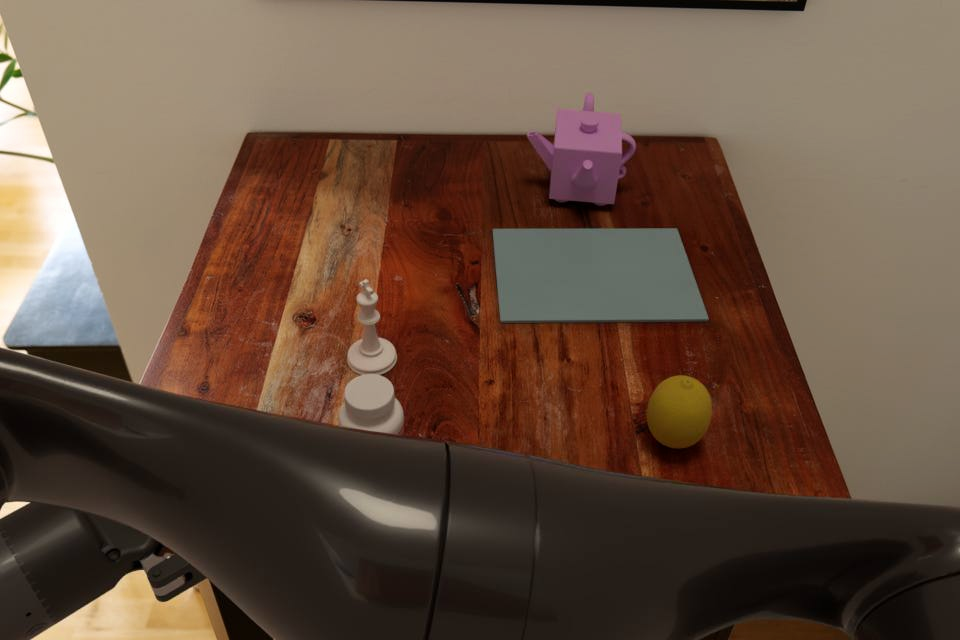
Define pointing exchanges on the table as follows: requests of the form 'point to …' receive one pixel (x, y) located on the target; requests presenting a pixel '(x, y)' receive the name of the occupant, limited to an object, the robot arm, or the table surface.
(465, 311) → the table surface
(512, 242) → the cloth mat
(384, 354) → the chess piece
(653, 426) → the lemon
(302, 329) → the table surface
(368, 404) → the pill bottle
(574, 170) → the teapot
